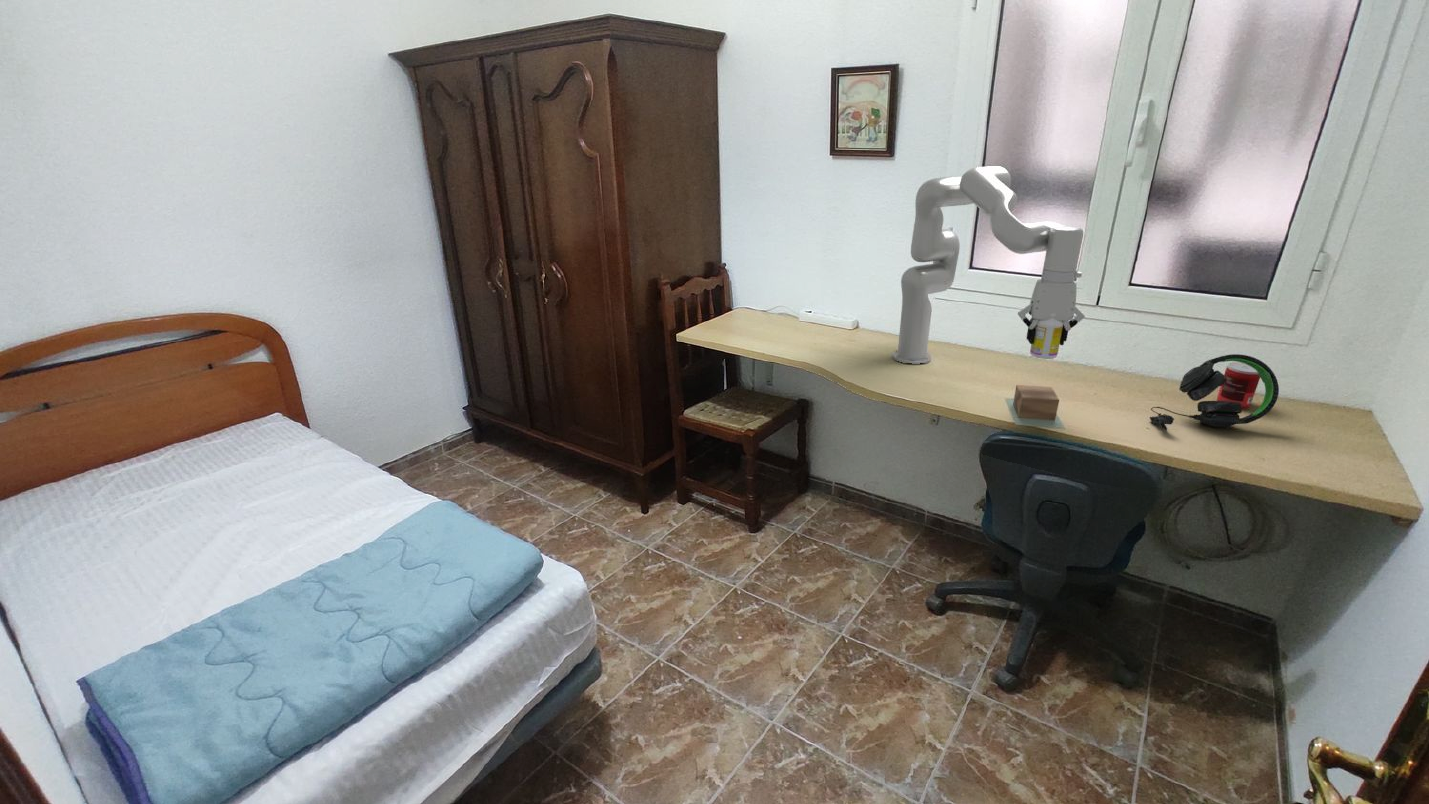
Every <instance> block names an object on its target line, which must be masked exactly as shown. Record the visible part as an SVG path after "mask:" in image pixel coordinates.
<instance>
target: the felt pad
mask: <svg viewBox="0 0 1429 804" xmlns="http://www.w3.org/2000/svg"><path fill="white" fill-rule="evenodd" d="M1004 399H1005V402H1006V404H1007V407H1008V409H1009V410H1008V411H1009V412H1010V415H1011V418H1012V419H1013V422H1014V424H1015V426H1027V427H1040V428H1055V429H1066V426H1064V424H1063V422H1062V420H1061V418H1060V417H1059V415H1058V413H1056V418H1055V421H1054V420H1040V419H1027V418H1019V417H1018V415H1017V413H1016V410H1015V408H1014V406H1013V402H1014V398H1013V397H1012V398H1011V397H1005V398H1004Z"/></svg>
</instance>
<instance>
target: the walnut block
mask: <svg viewBox="0 0 1429 804" xmlns="http://www.w3.org/2000/svg"><path fill="white" fill-rule="evenodd" d="M1059 403H1060V399H1059V397H1058V395H1057V394H1056V392H1055V390H1054V389H1053V387H1051V386H1038V385H1024V384H1022V385H1021V384H1016V387H1015V391H1014V402H1013V406H1014V408H1015V410H1016V413H1017V415H1018V417H1019V418H1027V419H1040V420H1054V421H1055V418H1056V413H1057V412H1058V407H1059ZM1057 414H1058V413H1057Z"/></svg>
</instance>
